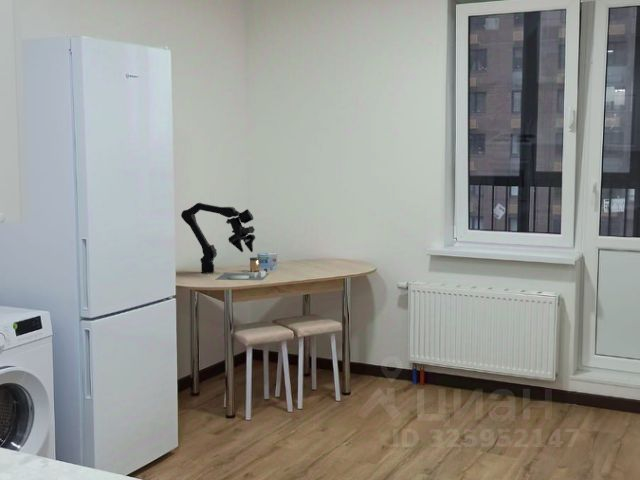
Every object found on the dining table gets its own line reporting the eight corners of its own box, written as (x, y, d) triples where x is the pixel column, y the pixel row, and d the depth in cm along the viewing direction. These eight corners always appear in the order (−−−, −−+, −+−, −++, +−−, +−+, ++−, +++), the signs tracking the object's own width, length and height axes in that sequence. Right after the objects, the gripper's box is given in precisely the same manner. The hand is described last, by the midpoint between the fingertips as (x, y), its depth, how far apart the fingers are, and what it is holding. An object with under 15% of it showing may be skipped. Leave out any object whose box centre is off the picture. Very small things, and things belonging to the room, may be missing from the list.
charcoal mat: (215, 280, 417) (215, 279, 417) (224, 273, 441) (224, 272, 441) (262, 281, 415) (262, 280, 415) (269, 274, 439) (269, 273, 439)
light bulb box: (259, 273, 444) (259, 254, 443) (257, 271, 451) (257, 253, 449) (277, 272, 447) (277, 253, 446) (275, 270, 453) (275, 252, 452)
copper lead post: (249, 276, 428) (248, 258, 427) (250, 275, 433) (250, 257, 432) (258, 276, 428) (258, 258, 426) (260, 275, 433) (259, 257, 432)
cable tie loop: (243, 275, 430) (243, 270, 430) (254, 274, 436) (254, 269, 436) (257, 277, 423) (257, 272, 423) (268, 275, 430) (268, 270, 429)
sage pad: (227, 279, 417) (227, 278, 417) (231, 276, 428) (231, 275, 428) (247, 279, 416) (247, 278, 416) (250, 276, 427) (250, 275, 427)
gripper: (237, 220, 428) (248, 245, 425) (257, 221, 444) (267, 245, 441) (223, 229, 433) (233, 254, 430) (243, 230, 449) (252, 254, 446)
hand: (247, 251), depth 436 cm, fingers open, 9 cm apart
